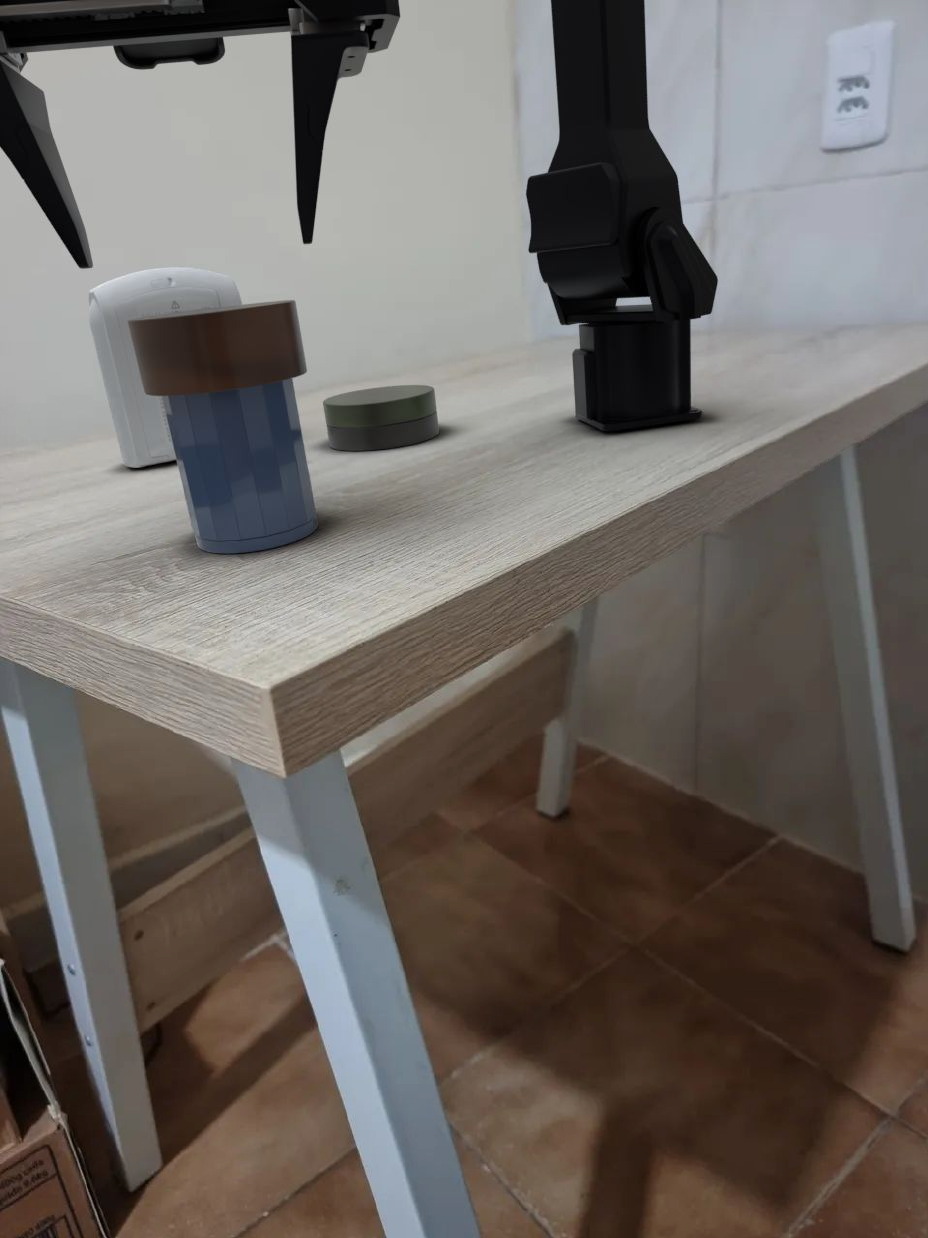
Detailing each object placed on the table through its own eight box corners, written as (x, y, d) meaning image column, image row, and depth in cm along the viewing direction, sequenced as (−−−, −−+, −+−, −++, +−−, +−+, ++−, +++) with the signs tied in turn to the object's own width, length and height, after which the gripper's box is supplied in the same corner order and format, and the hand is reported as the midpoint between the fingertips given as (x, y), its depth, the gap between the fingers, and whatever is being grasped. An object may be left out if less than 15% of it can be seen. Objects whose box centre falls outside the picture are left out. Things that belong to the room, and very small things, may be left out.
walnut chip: (305, 364, 42) (294, 298, 41) (308, 380, 36) (295, 301, 34) (157, 383, 41) (141, 316, 40) (132, 402, 35) (112, 323, 33)
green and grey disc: (430, 422, 64) (425, 380, 63) (447, 440, 57) (442, 393, 56) (327, 436, 63) (320, 394, 62) (332, 456, 56) (324, 409, 55)
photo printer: (256, 437, 66) (221, 262, 62) (277, 443, 63) (242, 258, 58) (118, 465, 62) (69, 278, 57) (133, 473, 58) (82, 275, 53)
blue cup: (316, 510, 44) (291, 367, 41) (319, 541, 39) (291, 380, 36) (203, 527, 43) (170, 382, 40) (191, 561, 38) (152, 398, 35)
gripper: (350, -136, 39) (397, 238, 45) (-86, -111, 37) (23, 280, 43) (369, -280, 29) (426, 228, 35) (-231, -258, 27) (-62, 282, 33)
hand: (198, 255), depth 37 cm, fingers open, 9 cm apart
